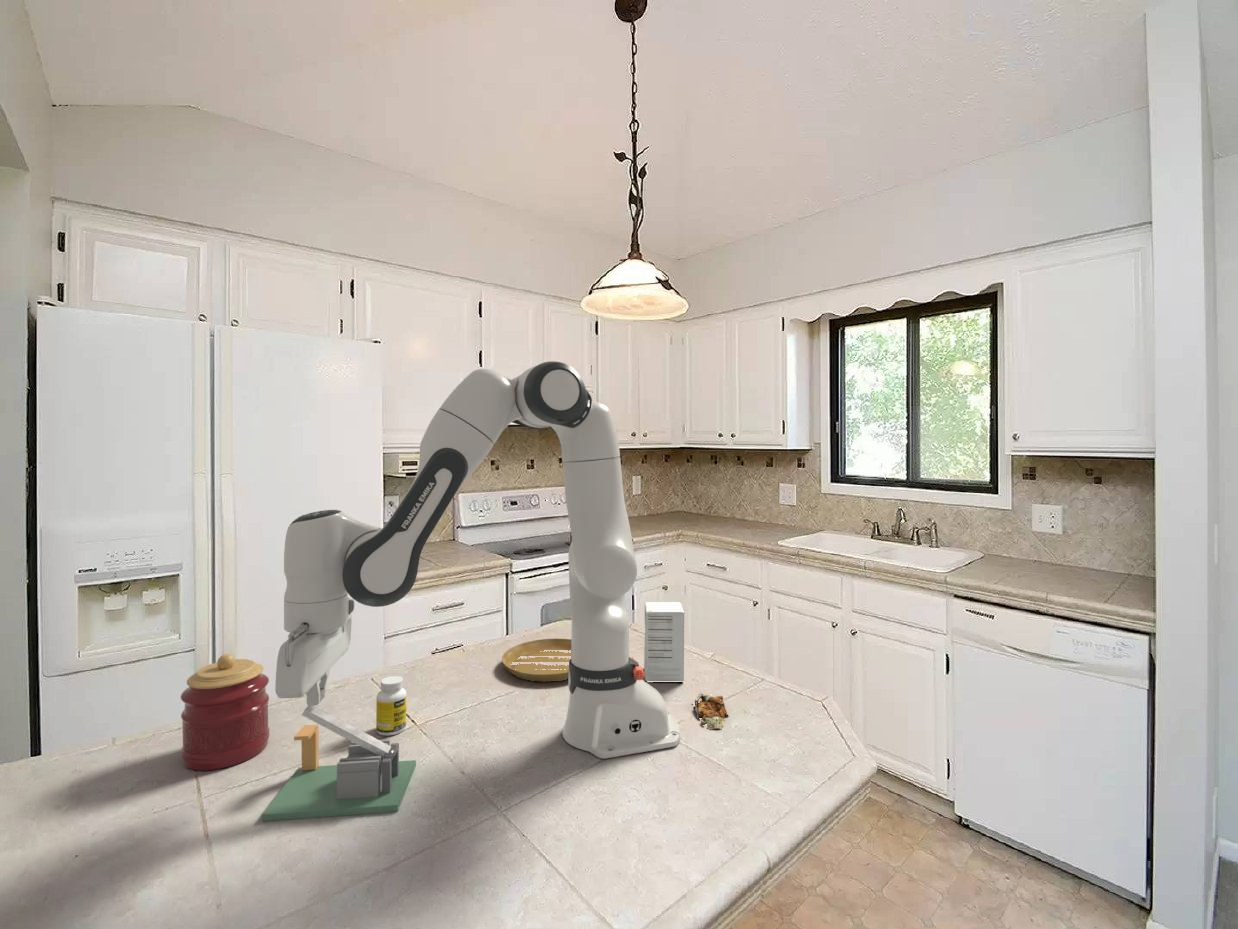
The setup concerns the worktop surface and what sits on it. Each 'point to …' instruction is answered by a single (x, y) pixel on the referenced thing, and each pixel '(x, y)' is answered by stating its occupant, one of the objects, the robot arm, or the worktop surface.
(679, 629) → the supplement box
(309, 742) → the bracket
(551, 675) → the plant saucer
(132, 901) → the worktop surface
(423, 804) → the worktop surface
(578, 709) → the robot arm
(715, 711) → the pastry
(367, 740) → the strap
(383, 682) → the supplement bottle
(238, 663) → the canister
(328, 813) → the heatsink base
